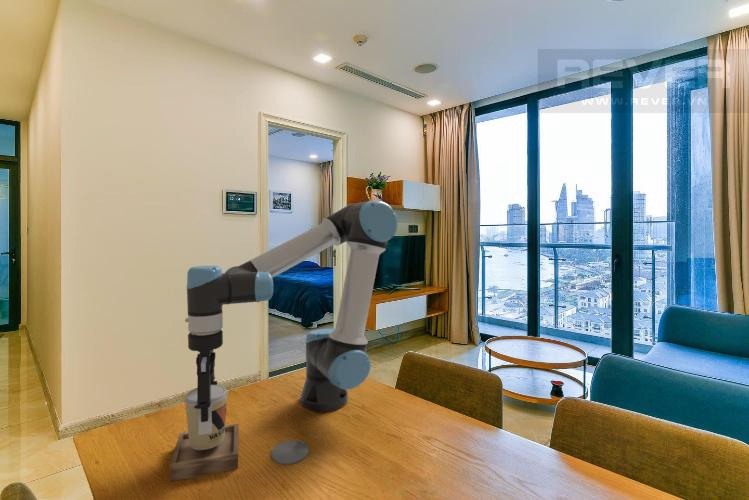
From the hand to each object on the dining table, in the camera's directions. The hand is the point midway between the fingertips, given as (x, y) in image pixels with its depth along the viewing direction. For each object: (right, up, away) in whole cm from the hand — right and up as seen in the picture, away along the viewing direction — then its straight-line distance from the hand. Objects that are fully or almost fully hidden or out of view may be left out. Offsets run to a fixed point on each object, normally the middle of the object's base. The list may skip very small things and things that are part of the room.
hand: (207, 422), depth 89 cm
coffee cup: (0, -5, 0) cm, 5 cm away
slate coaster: (+19, -9, +2) cm, 21 cm away
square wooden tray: (0, -9, 0) cm, 9 cm away
